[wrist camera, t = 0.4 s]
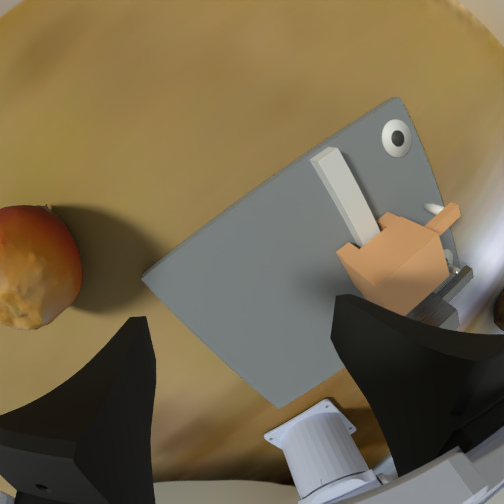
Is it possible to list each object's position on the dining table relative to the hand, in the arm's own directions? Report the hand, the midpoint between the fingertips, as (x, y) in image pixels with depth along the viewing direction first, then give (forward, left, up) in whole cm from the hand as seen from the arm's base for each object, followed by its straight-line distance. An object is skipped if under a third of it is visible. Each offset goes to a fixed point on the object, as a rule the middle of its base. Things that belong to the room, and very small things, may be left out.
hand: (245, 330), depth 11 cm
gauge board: (-7, -6, -10) cm, 14 cm away
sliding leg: (-7, -11, -9) cm, 16 cm away
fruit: (+8, +10, -10) cm, 17 cm away
